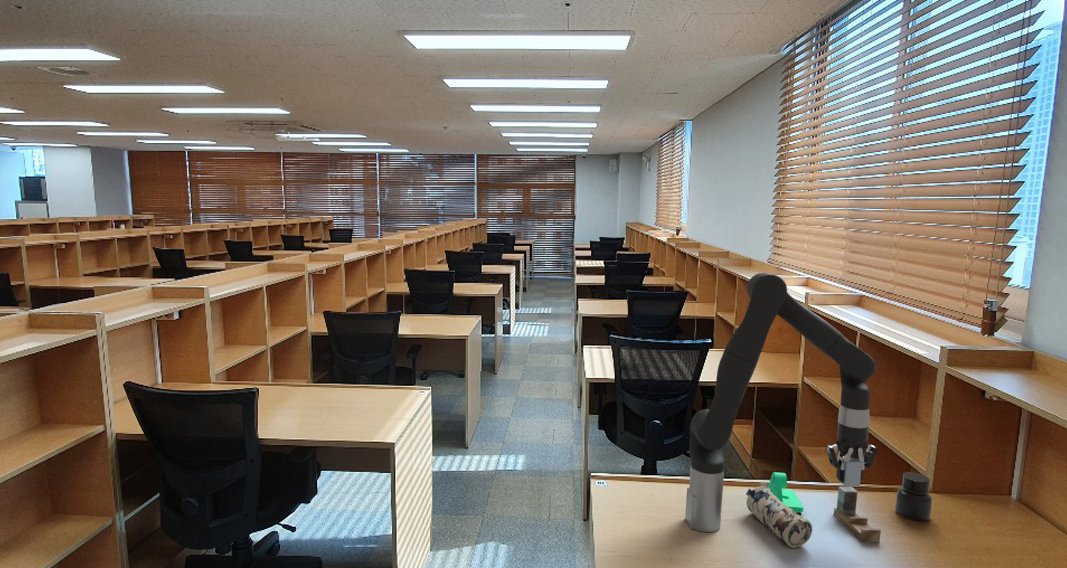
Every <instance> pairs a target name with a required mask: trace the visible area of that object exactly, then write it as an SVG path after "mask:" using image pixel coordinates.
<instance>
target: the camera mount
mask: <svg viewBox="0 0 1067 568" xmlns="http://www.w3.org/2000/svg"><path fill="white" fill-rule="evenodd" d="M787 477H788V476H787V474H786V473H785V472H776V471H774V472H772V474H771V477H770V480H769V482H768V485H767V487H768V488H769V489H770V490H771V491H772V493H773V494H774V496H776V497H777V498H778V499H779V500H780V501H781V502H782V503H784V504H785V505H787V506H788V507H789V508H790V509H792V510H793V511H795V512H796V513H803V512H804V505H803V504H802V502H801V501H800V499H799V497H798V496H797V494H796V493H795V491H794V490H793V489H791V488H787V486H788V478H787Z"/></svg>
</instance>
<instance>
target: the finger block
mask: <svg viewBox="0 0 1067 568" xmlns="http://www.w3.org/2000/svg"><path fill="white" fill-rule="evenodd" d="M861 465H862V462H860V461H858V460H857V459H856V458H850V459H849V462H846V464H845V469H844V470H845V475H844V482H840V483H841V484H842V485H843V486H844V487H861V482H860V478H861Z"/></svg>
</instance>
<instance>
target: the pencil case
mask: <svg viewBox="0 0 1067 568" xmlns="http://www.w3.org/2000/svg"><path fill="white" fill-rule="evenodd" d="M767 484H768V483H767V482H762V481H761V482H760V486H757V487H755V488H753V489H751V488H748V489H747V492H746V493H745V495H746V496H747V499H746V507H747V509H748V511H750V512H751V513H752V514H753V516H754V517H755V518H756V519H757V520H758V521H760V522H761V523H762V524H763V525H764V526H766V527H767V529H768V530H770V531H771V532H772V533H773V534H775V535H776V536H778V538H779V539H781V540H782V541H784V543H786V545H787V546H788V547H790V548H791V549H795V548H800V547H802V546H803V545H805V544H806V543H807V542H808V541H810V538H811V536H812V534H813V525H812V523H811V521H810V520H808V519H807V518H805V517H803V516H802V515H800V514H798V512H795V511H793V510H792V509H790V508H789V507H788V506H787V505H785V504H784V503H782V502H781V501H780V500H779V499H778V498H777V497H776V496H774V494H773V493H772V491H771V490H770V489H769V488H768V485H767Z"/></svg>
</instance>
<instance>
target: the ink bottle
mask: <svg viewBox="0 0 1067 568" xmlns="http://www.w3.org/2000/svg"><path fill="white" fill-rule="evenodd" d="M901 483H902V485H901V486H902V487H899V488H898V489H897V492H896V499H895V512H896V513H898V515H900V516H902V517H904V518H906V519H909V520H912V521H917V522H924V521H929V520H930V518H931V514H932V504H933V497H932V496H931V494H929V491H930V490H929V489H930V485H931V484H930V483H931V479H930V477H928V476H926V475H924V474H922V473H917V472H914V471H911V472H910V471H907V472H904V473H903V475H902V481H901Z"/></svg>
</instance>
